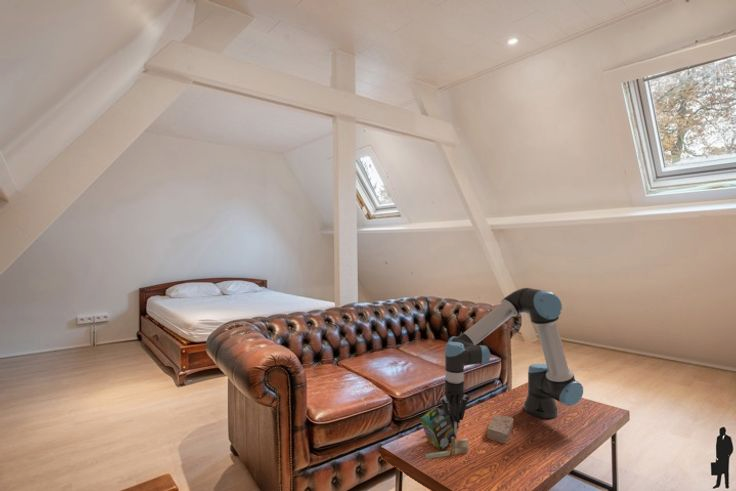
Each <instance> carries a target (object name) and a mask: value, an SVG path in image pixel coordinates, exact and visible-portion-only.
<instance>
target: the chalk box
mask: <svg viewBox="0 0 736 491" xmlns="http://www.w3.org/2000/svg"><path fill="white" fill-rule="evenodd" d="M419 420H420V423H421V426H422V428H423V431H424V433H425V436H426V439H427V441H428V442H429V443H430V444H431V445H433V446H434V447H435V448H436V449H438V450H439V452H442V451H443V450H444V449H446V448H447V447H448V446H449V445H451V437H454V438H455V440H457V438H456V435H455V432H454V429H453V426H452V423H451V420H450V417H449V415H448V414H446V413H445V412H444V411H443V410H442V409H440V408H438V407H437V406H436V405H435V406H434V407H433V408H431V409H430V410H428V411H427V412H426V413H425V414H424V415H422V416H421V417H420V419H419Z"/></svg>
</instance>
